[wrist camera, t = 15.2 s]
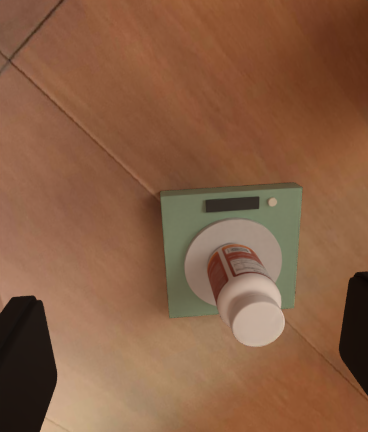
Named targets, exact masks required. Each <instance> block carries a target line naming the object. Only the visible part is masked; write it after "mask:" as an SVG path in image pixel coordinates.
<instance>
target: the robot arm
mask: <svg viewBox="0 0 368 432" xmlns="http://www.w3.org/2000/svg"><path fill="white" fill-rule="evenodd" d="M339 353H340V356H341V358H342V360H343V362H344V363H345V364H346V366H347V367H348V369H349V370H350V371H351V373H352V374H353V376H354V377H355V379H356V380H357V381H358V383H359V384H360V386H361V387H362V388H363V390H364V391H365V393H366V394H367V395H368V272H357V273H355V275H354V277H352V278H350V280H349V284H348V290H347V297H346V304H345V310H344V317H343V324H342V330H341V337H340V344H339ZM56 383H57V369H56V364H55V359H54V355H53V350H52V345H51V340H50V335H49V330H48V326H47V321H46V316H45V311H44V306H43V302H42V301H41V300H36V298H35V296H20V297H12V298H11V299H10V301H9V302H8V303H7V305H6V306H5V308H4V309H3V311H2V312H1V313H0V432H40V430H41V427H42V424H43V421H44V418H45V415H46V412H47V410H48V407H49V404H50V401H51V398H52V395H53V392H54V389H55V387H56Z"/></svg>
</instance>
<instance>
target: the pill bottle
mask: <svg viewBox="0 0 368 432" xmlns="http://www.w3.org/2000/svg"><path fill="white" fill-rule="evenodd" d="M207 273H208V278H209V281H210V285H211V288H212V292H213V295H214V299H215V302H216V306H217V309H218V312H219V315H220V317H221V319H222V320H223V322H224V323H225V324H226V325H227V326H228V327H230V328H231V329H232V332H233V334H234V336H235V338H236V339H237V340H238V341H239V342H240V343H242V344H244V345H246V346H251V347H259V346H264V345H267V344H269V343H271V342H273V341H274V340H275V339H277V338H278V337H279V335H280V334H281V332H282V331H283V328H284V324H285V319H284V315H283V313H282V311H281V295H280V292H279V290H278V288H277V286H276V284H275V283H274V281H273V280H272V278H271V277H270V275H269V274H268V272H267V270H266V269H265V267H264V266H263V264H262V262H261V261H260V259H259V258H258V256H257V255H256V253H255V252H254V251H253V250H252V249H251V248H249V247H248V246H245V245H243V244H238V243H232V244H227V245H224V246H222V247H220V248H219V249H217V250H216V251H215V252H214V253H213V254H212V256H211V258H210V259H209V262H208V266H207Z"/></svg>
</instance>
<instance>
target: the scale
mask: <svg viewBox="0 0 368 432" xmlns="http://www.w3.org/2000/svg"><path fill="white" fill-rule="evenodd" d="M160 201H161V214H162V227H163V240H164V253H165V267H166V280H167V293H168V306H169V318H179V317H191V316H203V315H215V314H219V312H218V309H217V306H216V302H215V299H214V295H213V292H212V288H211V285H210V281H209V278H208V273H207V266H208V262H209V259H210V258H211V256H212V254H213V253H214V252H215V251H216V250H217V249H219V248H220V247H222V246H224V245H227V244H232V243H238V244H243V245H245V246H248V247H249V248H251V249H252V250H253V251H254V252H255V253H256V255H257V256H258V258H259V259H260V261H261V262H262V264H263V266H264V267H265V269H266V270H267V272H268V274H269V275H270V277H271V278H272V280H273V281H274V283H275V284H276V286H277V288H278V290H279V292H280V295H281V309H288V308H294V299H295V285H296V271H297V257H298V243H299V229H300V215H301V201H302V187H301V186H299V185H298V184H296V183H294V182H293V183H278V184H263V185H247V186H232V187H216V188H201V189H185V190H170V191H160Z"/></svg>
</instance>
